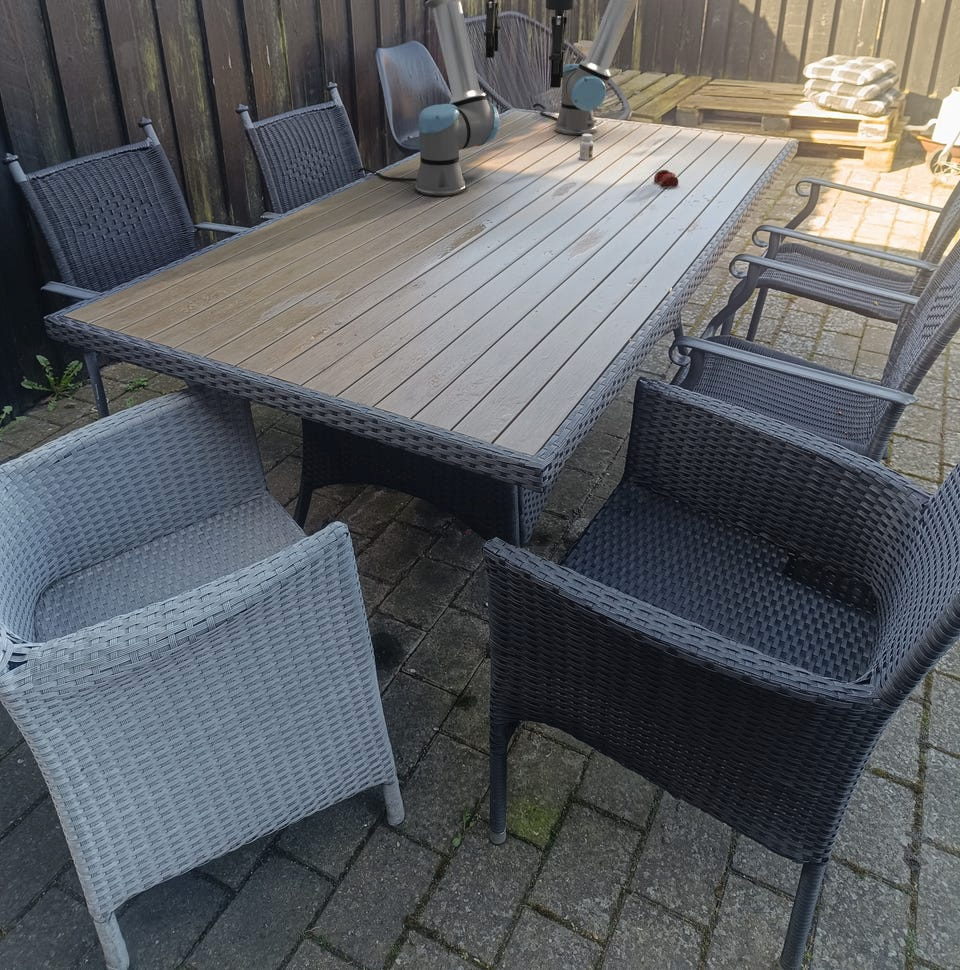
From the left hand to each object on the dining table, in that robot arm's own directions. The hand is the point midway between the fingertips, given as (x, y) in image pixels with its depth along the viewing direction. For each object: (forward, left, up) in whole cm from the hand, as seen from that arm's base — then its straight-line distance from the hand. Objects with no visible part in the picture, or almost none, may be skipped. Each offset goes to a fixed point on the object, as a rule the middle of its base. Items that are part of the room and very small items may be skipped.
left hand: (556, 82), depth 227 cm
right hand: (-59, +47, -4) cm, 76 cm away
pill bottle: (-20, +50, -33) cm, 63 cm away
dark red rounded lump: (+16, +40, -33) cm, 54 cm away
